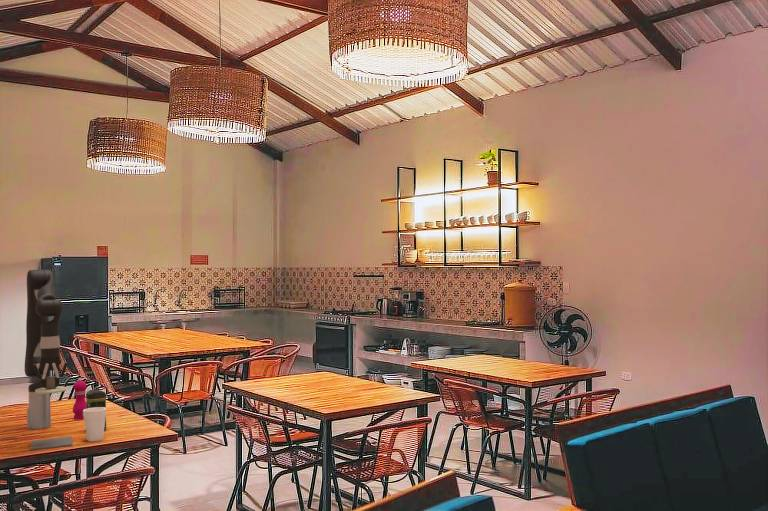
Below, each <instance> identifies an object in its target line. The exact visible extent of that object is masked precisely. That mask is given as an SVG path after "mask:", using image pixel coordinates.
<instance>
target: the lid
mask: <svg viewBox="0 0 768 511" xmlns="http://www.w3.org/2000/svg"><path fill="white" fill-rule="evenodd" d="M65 391H67V386H61V385H60V386H59V385H58V387H56V375H50V376H49V377H46V388H39V389H36V390H35V393H38V394H49V393H50V394H58V393H62V392H65Z"/></svg>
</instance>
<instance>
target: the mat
mask: <svg viewBox="0 0 768 511" xmlns="http://www.w3.org/2000/svg"><path fill="white" fill-rule="evenodd" d="M30 443H31V444H30V448H29V449H30V450H29V451H36V450H38V451H39V450H43V449H44V450H46V449H55V448H64V447H73V444H74V443H73V436H64V437H54V438H45V439H35V440H31V442H30Z"/></svg>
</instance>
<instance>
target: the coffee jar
mask: <svg viewBox="0 0 768 511" xmlns="http://www.w3.org/2000/svg"><path fill="white" fill-rule="evenodd" d="M106 393H107V392H106V391H103V390H101V389H98V388H95V389H89V390H87V391H86V392H85V401H86V404H87V409H88V408H95V407H105V408H106V409H107V404H106V403H107V395H106ZM106 430H107V417H106V418H105V427H104V431H106Z"/></svg>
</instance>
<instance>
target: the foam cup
mask: <svg viewBox="0 0 768 511" xmlns="http://www.w3.org/2000/svg"><path fill="white" fill-rule="evenodd" d="M83 416H84V419H83V421H84V427H85V433H86V439H87V441H88V442H97V441H102V440H103V439H104V433H105V430H104V427H105V418H106V419H107V407H106V408H105V407H95V408H88V409H84V410H83Z"/></svg>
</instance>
